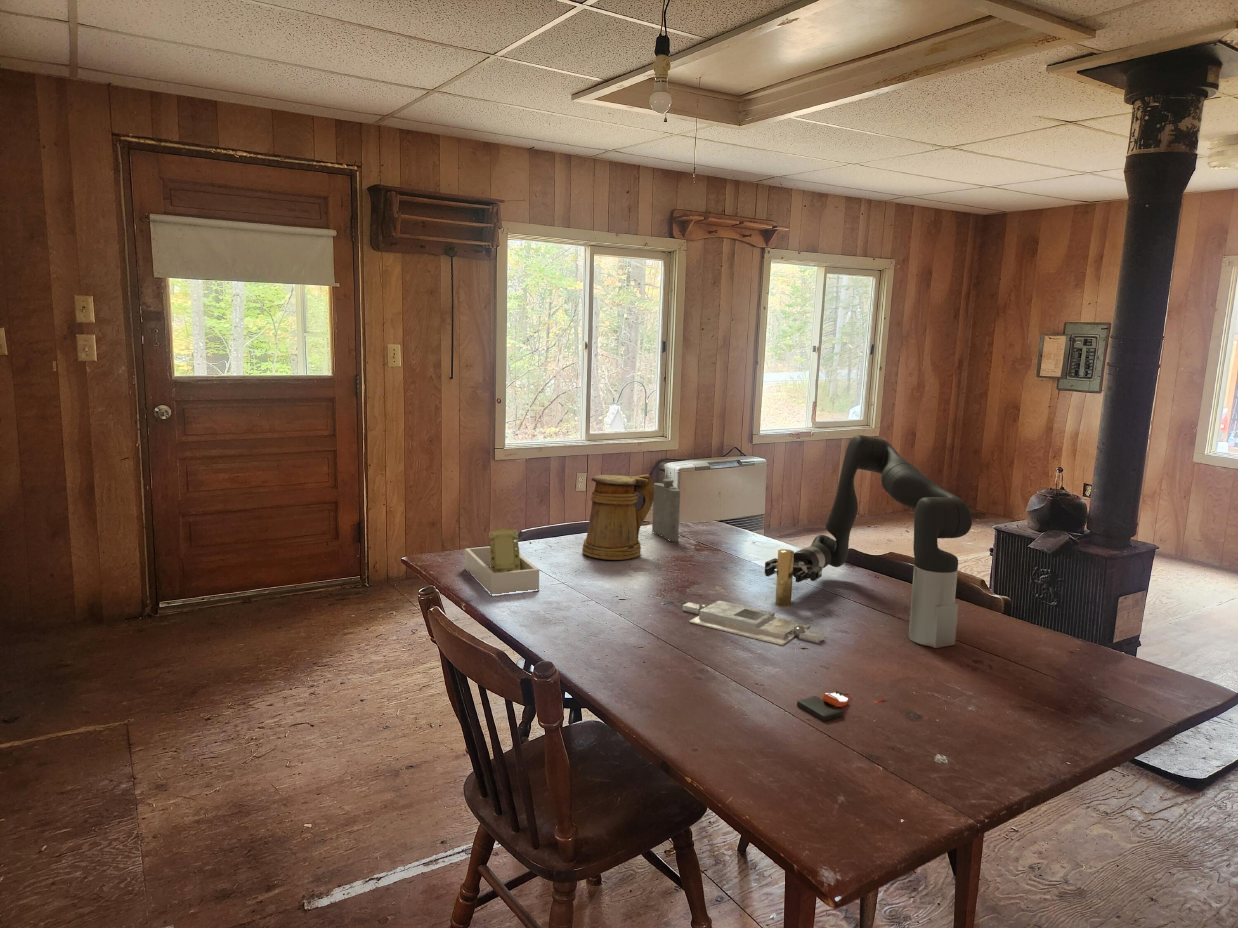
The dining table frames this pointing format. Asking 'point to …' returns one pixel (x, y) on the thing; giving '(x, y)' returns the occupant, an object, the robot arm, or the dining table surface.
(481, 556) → the parts tray
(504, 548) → the mechanical component
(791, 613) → the dining table surface
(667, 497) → the hip flask
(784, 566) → the pin
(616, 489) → the tankard
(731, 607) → the peg-in-hole plate
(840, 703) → the multimeter
